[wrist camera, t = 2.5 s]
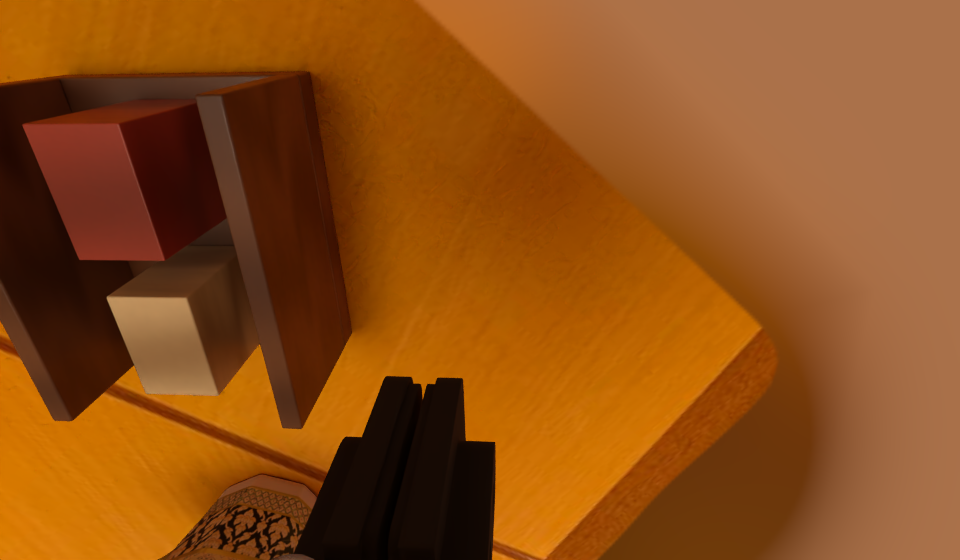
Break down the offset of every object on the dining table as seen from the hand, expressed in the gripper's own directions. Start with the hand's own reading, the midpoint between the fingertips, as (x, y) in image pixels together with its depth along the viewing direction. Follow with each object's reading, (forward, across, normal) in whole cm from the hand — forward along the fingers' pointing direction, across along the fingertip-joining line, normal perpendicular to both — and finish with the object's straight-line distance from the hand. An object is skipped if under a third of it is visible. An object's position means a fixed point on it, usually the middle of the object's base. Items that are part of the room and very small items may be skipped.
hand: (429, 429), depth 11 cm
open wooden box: (+12, +11, 0) cm, 16 cm away
